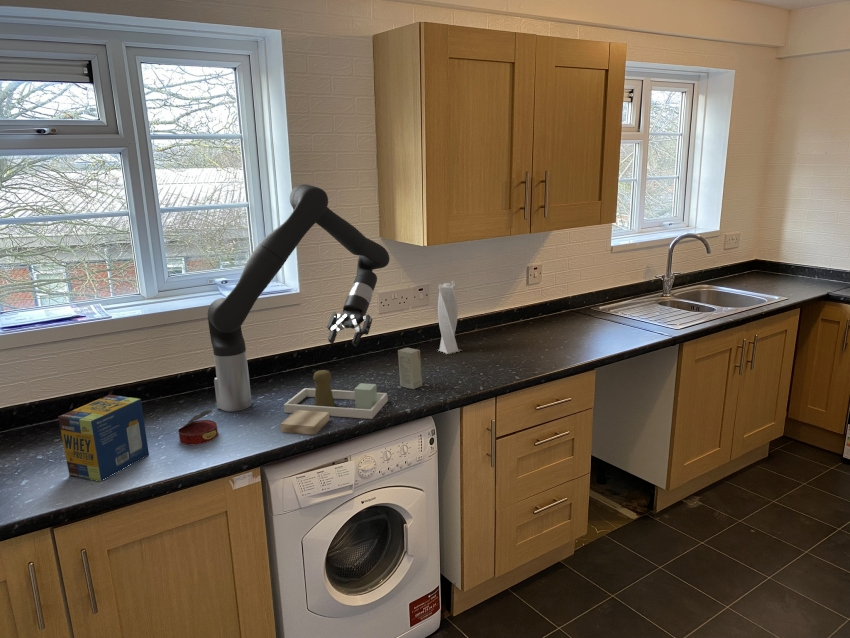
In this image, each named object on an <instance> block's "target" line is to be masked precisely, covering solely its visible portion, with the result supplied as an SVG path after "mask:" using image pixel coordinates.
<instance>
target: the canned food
mask: <svg viewBox="0 0 850 638" xmlns="http://www.w3.org/2000/svg"><path fill="white" fill-rule="evenodd" d="M212 412H213V410H211V409H206V410H203V411H201V412H200V413H198V414H195V415H194V416H193V417H192V418H191V419H190V420H189V421H188V422H187V423H185V424H183V425H181V426H180V427H179V428H177V430H178V438H179V442H180V443H182V445H183V444H184V445H189V446H193V445H201V444H206V443H209V442H212V441H213V440H214V439H216V438H217V437H218V434H219V431H218V423H217V422H216V421H214V420H211V419H210V420H208V419H201V418H203V417H205V416H208V415H209V414H211V413H212ZM200 419H201V420H200Z"/></svg>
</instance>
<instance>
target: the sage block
mask: <svg viewBox="0 0 850 638" xmlns="http://www.w3.org/2000/svg"><path fill="white" fill-rule="evenodd" d="M353 391H354V392H355V400H354V404H355V405H354V406H355V407H354V408H355V409H369V410H370V409H371V408H372V407H373V406H374V405H375V404H376V403H377V393H378V391H377V384H376V383H365V382H364V383H362V382H361V383H359V384H358V385H357V386H356V387H355V388H354V390H353Z"/></svg>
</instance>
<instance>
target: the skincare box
mask: <svg viewBox="0 0 850 638" xmlns="http://www.w3.org/2000/svg"><path fill="white" fill-rule="evenodd" d="M397 357H398V371H399V385H400V387H403V388H407V389H410V390H416V389H418V388H420V387H422V386H423V377H422V360H421V350H420V349H416V348H411V347H404V348H401V349H398V350H397Z"/></svg>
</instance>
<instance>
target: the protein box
mask: <svg viewBox="0 0 850 638" xmlns="http://www.w3.org/2000/svg"><path fill="white" fill-rule="evenodd" d="M142 404H143V403H142V399H141V398H137V397H129V396H122V395H114V394H108V395H106V396H103V397H101V398H98V399H96V400H93V401H91V402H89V403H87V404H84V405H82V406H80V407H78V408H74V409H73V410H70V411H68V412H66V413H63V414H61V415H58V416H57V417H58V422H59V428H60V433H61V439H62V445H63V448H64V454H65V459H66V467H67V470H68V476H70V477H73V476H75V477H74V478H78V477H80V478H79V479H83V478H85V479H84V480H88V479H91V480H90V481H93V480H97V481H96V482H98V481H102V480H103V479H105V478H107V477H109V476H110V475H112V474H114V473H116V472H118V471H120V470H121V471H123V470H124V469H123V468H125V467H127V466H128V465H130V464H132V463H134V462H136V461H137V462H139V461H140V459H141V460H142V458H143V457H144V458H146V457H148V456H149V455H150V452H149V446H148V445H149V444H148V440H147V439H148V438H147V432H146V431H147V430H146V425H145V419H144V414H143V411H144V410H143V406H142ZM147 455H148V456H147ZM145 456H146V457H145ZM144 458H143V459H144ZM138 460H139V461H138ZM137 462H136V463H137ZM134 464H135V463H134ZM132 465H133V464H132ZM130 466H131V465H130ZM128 467H129V466H128ZM128 467H127V468H128ZM122 469H123V470H122ZM125 469H126V468H125ZM121 471H120V472H121ZM118 473H119V472H118ZM116 474H117V473H116ZM114 475H115V474H114ZM109 478H110V477H109ZM107 479H108V478H107ZM105 480H106V479H105ZM102 482H103V481H102Z"/></svg>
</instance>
